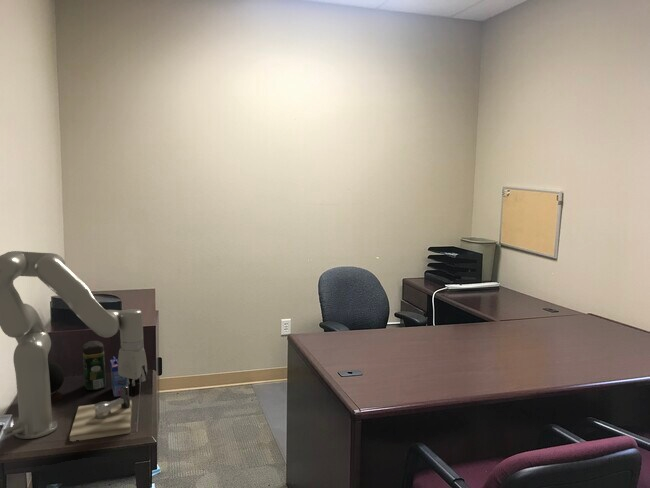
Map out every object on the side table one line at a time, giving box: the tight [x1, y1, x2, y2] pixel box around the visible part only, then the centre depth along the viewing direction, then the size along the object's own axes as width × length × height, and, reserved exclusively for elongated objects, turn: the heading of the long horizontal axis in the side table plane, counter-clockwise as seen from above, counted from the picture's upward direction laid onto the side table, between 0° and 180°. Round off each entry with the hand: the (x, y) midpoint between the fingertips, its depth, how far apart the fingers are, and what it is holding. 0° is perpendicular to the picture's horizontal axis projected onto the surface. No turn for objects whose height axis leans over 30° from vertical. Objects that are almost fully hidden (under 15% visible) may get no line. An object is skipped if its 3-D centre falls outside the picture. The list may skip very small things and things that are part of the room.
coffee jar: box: [82, 340, 107, 391], centre depth 210 cm, size 10×8×19 cm
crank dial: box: [94, 384, 131, 419], centre depth 181 cm, size 13×5×7 cm, turn 147°
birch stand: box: [69, 399, 133, 442], centre depth 178 cm, size 24×18×2 cm
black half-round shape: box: [48, 360, 65, 405], centre depth 197 cm, size 13×13×15 cm
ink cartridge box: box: [109, 356, 129, 398], centre depth 205 cm, size 10×6×14 cm, turn 27°
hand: (134, 395), depth 182 cm, fingers closed
